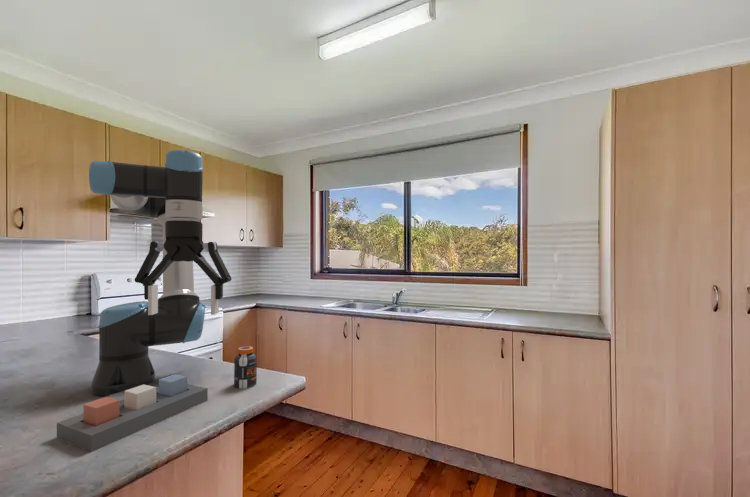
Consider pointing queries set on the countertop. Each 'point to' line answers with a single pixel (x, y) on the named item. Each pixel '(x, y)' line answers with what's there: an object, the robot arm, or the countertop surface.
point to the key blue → (172, 385)
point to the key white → (139, 397)
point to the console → (128, 419)
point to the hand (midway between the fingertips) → (184, 314)
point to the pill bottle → (245, 368)
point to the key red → (100, 411)
